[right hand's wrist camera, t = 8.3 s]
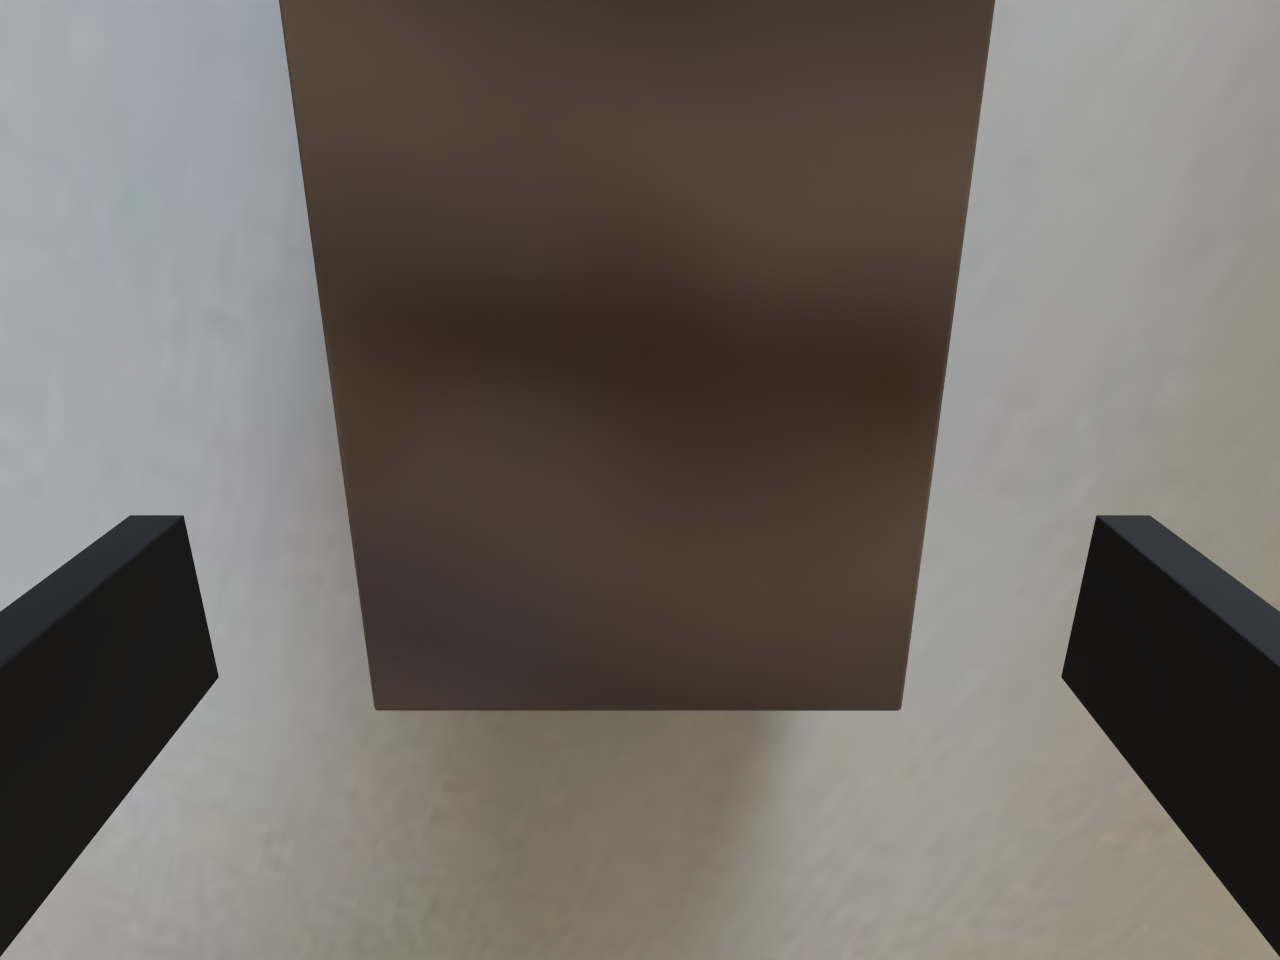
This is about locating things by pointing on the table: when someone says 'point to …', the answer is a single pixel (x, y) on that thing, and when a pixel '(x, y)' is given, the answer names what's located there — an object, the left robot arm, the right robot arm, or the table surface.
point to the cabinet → (637, 336)
